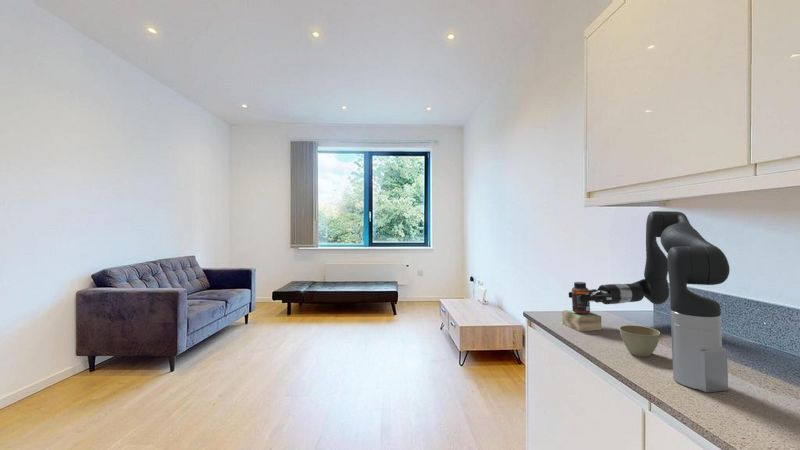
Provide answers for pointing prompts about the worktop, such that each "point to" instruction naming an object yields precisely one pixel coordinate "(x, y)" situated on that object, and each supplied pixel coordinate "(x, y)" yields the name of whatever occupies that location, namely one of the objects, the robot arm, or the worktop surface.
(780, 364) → the worktop surface
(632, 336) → the beige round bowl
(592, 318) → the step
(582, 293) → the supplement bottle
